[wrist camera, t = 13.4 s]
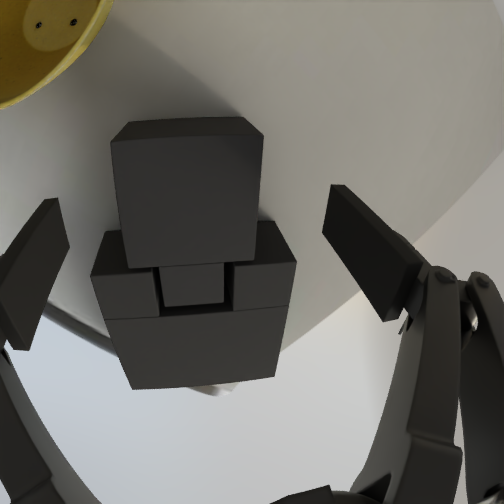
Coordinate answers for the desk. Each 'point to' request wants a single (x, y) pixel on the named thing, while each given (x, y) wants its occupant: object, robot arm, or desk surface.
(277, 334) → the notch pad
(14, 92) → the flower pot
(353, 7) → the desk surface
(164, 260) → the tab pad
